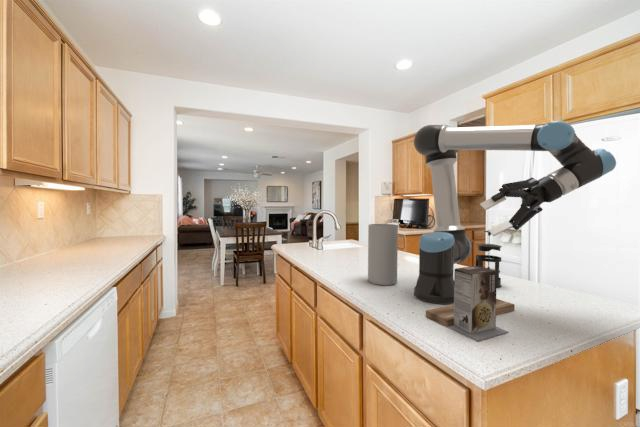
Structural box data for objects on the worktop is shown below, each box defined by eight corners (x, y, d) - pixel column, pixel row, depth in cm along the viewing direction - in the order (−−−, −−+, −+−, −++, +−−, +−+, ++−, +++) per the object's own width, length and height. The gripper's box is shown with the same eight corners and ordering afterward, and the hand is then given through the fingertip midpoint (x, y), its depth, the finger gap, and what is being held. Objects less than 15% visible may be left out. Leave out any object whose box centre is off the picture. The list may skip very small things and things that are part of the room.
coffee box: (476, 320, 84) (477, 265, 84) (496, 328, 78) (498, 270, 78) (452, 324, 81) (453, 267, 80) (471, 334, 75) (473, 273, 74)
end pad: (448, 327, 80) (448, 326, 80) (477, 320, 85) (477, 319, 85) (478, 341, 72) (478, 340, 72) (508, 332, 77) (508, 331, 77)
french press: (508, 288, 117) (509, 231, 117) (488, 289, 115) (489, 232, 115) (486, 280, 129) (487, 229, 128) (467, 281, 127) (468, 229, 126)
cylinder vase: (387, 277, 134) (387, 223, 133) (402, 284, 122) (403, 225, 121) (362, 279, 130) (363, 224, 129) (377, 287, 118) (377, 226, 117)
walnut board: (425, 316, 87) (425, 309, 87) (490, 302, 100) (490, 296, 100) (447, 327, 80) (447, 319, 80) (514, 310, 93) (514, 304, 93)
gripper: (562, 161, 77) (486, 201, 82) (565, 218, 92) (500, 250, 96) (541, 149, 83) (471, 188, 88) (547, 205, 98) (487, 235, 102)
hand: (486, 220), depth 92 cm, fingers open, 13 cm apart
